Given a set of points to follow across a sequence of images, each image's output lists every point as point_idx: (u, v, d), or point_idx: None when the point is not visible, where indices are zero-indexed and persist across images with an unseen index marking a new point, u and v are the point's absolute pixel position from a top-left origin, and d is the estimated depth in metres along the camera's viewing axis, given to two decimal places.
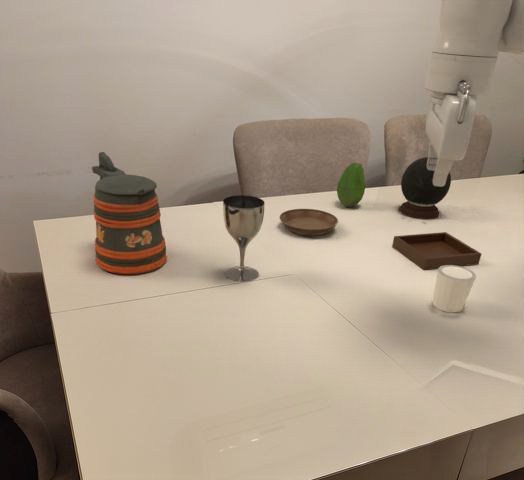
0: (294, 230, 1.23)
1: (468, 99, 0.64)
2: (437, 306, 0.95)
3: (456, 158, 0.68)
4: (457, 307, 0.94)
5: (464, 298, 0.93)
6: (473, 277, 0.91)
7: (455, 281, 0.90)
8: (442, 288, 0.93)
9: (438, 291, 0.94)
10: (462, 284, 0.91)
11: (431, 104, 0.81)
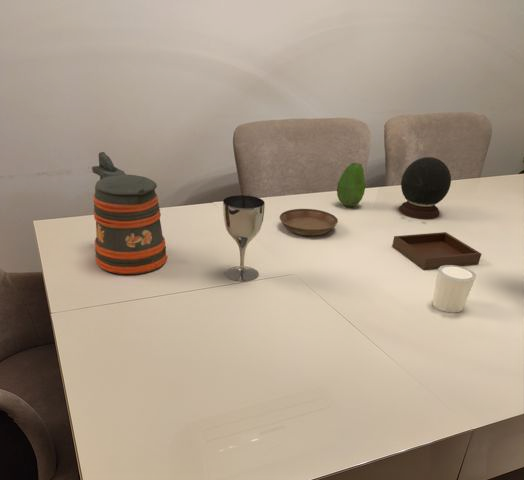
0: (294, 230, 1.23)
1: None
2: (437, 306, 0.95)
3: None
4: (457, 307, 0.94)
5: (464, 298, 0.93)
6: (473, 277, 0.91)
7: (455, 281, 0.90)
8: (442, 288, 0.93)
9: (438, 291, 0.94)
10: (462, 284, 0.91)
11: None
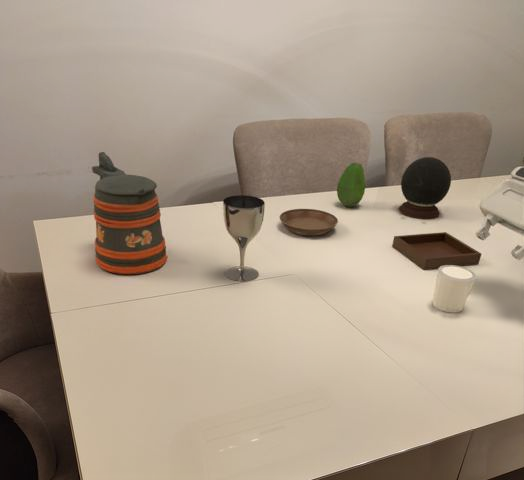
0: (294, 230, 1.23)
1: None
2: (437, 306, 0.95)
3: None
4: (457, 307, 0.94)
5: (464, 298, 0.93)
6: (473, 277, 0.91)
7: (455, 281, 0.90)
8: (442, 288, 0.93)
9: (438, 291, 0.94)
10: (462, 284, 0.91)
11: (501, 190, 0.96)
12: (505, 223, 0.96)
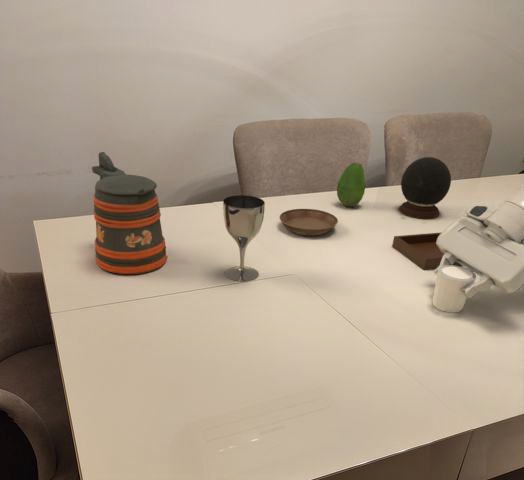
0: (294, 230, 1.23)
1: None
2: (437, 307, 0.95)
3: (509, 291, 0.86)
4: (457, 307, 0.94)
5: (464, 298, 0.93)
6: (473, 277, 0.91)
7: (455, 281, 0.90)
8: (442, 288, 0.93)
9: (438, 291, 0.94)
10: (462, 284, 0.91)
11: (457, 227, 0.97)
12: (461, 261, 0.97)
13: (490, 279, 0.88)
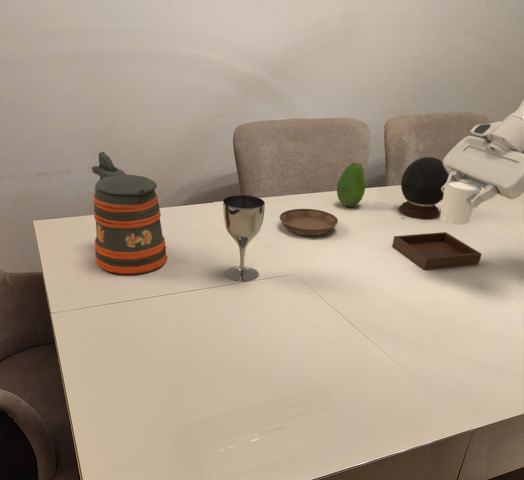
0: (294, 230, 1.23)
1: None
2: (445, 220, 1.01)
3: (513, 196, 0.93)
4: (463, 219, 1.00)
5: (470, 210, 0.99)
6: (478, 188, 0.98)
7: (462, 192, 0.97)
8: (449, 200, 0.99)
9: (445, 204, 1.00)
10: (468, 195, 0.97)
11: (462, 147, 1.04)
12: (466, 178, 1.03)
13: (495, 187, 0.95)
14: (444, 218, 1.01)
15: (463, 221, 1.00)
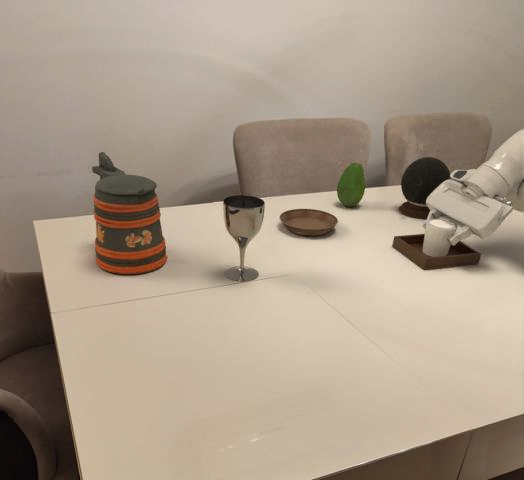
0: (294, 230, 1.23)
1: None
2: (426, 253, 1.16)
3: (484, 236, 1.07)
4: (442, 253, 1.14)
5: (448, 245, 1.13)
6: (455, 227, 1.12)
7: (440, 230, 1.11)
8: (429, 236, 1.13)
9: (426, 239, 1.14)
10: (446, 233, 1.11)
11: (443, 189, 1.18)
12: (446, 216, 1.17)
13: (470, 229, 1.08)
14: (425, 251, 1.16)
15: (442, 254, 1.14)
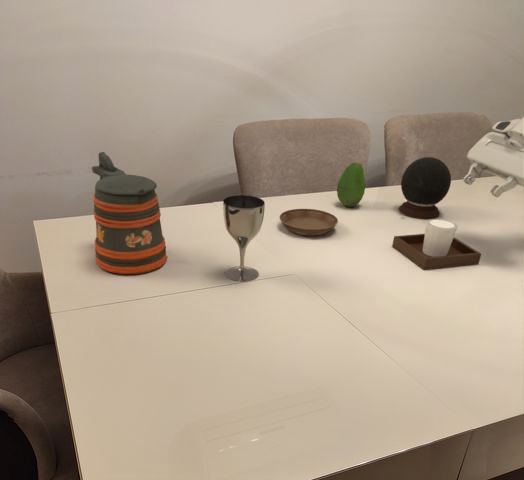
0: (294, 230, 1.23)
1: None
2: (426, 253, 1.16)
3: None
4: (442, 253, 1.14)
5: (448, 245, 1.13)
6: (455, 227, 1.12)
7: (440, 230, 1.11)
8: (430, 236, 1.13)
9: (426, 239, 1.14)
10: (446, 233, 1.11)
11: (485, 142, 1.15)
12: (488, 170, 1.14)
13: (515, 179, 1.06)
14: (425, 251, 1.16)
15: (442, 254, 1.14)
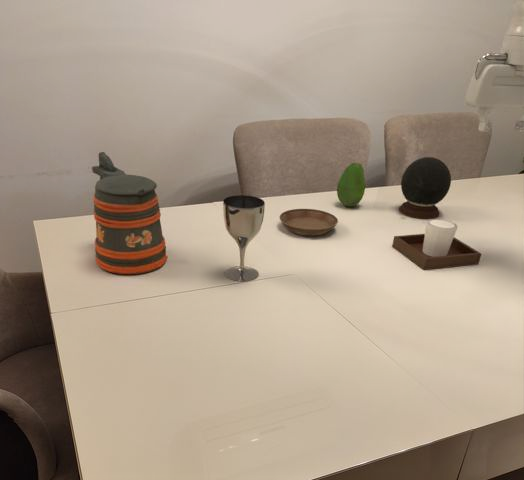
0: (294, 230, 1.23)
1: (479, 62, 0.95)
2: (426, 253, 1.16)
3: (472, 104, 0.99)
4: (442, 253, 1.14)
5: (448, 245, 1.13)
6: (455, 227, 1.12)
7: (440, 230, 1.11)
8: (429, 236, 1.13)
9: (426, 239, 1.14)
10: (446, 233, 1.11)
11: None
12: None
13: None
14: (425, 251, 1.16)
15: (442, 254, 1.14)
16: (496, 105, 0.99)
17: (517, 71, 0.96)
